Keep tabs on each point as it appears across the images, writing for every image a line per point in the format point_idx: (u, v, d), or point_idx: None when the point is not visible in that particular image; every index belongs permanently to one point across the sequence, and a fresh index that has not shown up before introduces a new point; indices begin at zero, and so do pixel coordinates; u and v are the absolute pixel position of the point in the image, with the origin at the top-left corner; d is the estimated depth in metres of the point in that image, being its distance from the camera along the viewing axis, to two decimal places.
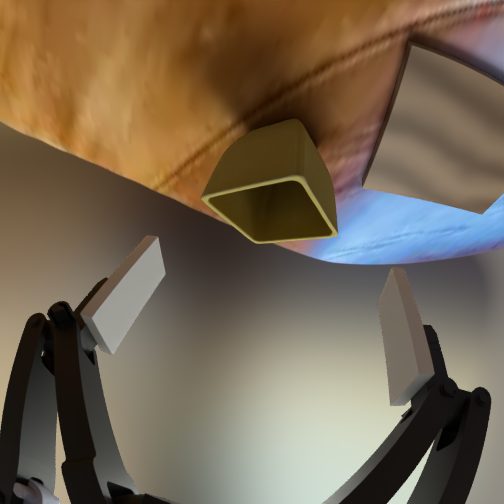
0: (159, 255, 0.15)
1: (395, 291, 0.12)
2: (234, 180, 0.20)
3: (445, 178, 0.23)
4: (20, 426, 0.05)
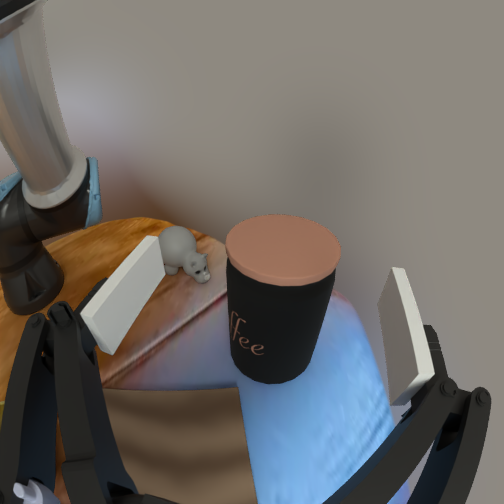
0: (159, 255, 0.15)
1: (395, 291, 0.12)
2: None
3: (163, 493, 0.18)
4: (20, 426, 0.05)
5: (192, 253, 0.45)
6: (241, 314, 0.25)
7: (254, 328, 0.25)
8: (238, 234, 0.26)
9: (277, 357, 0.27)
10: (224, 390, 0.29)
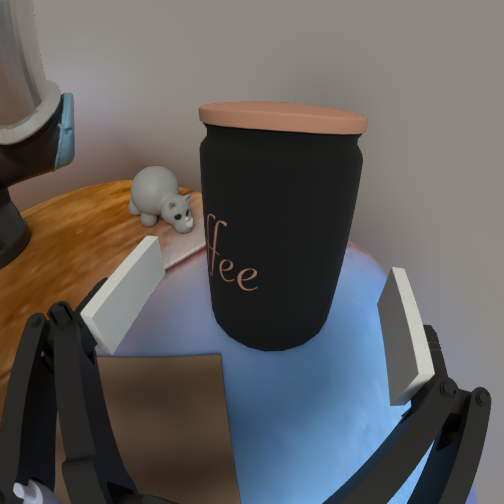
0: (159, 255, 0.15)
1: (395, 291, 0.12)
2: None
3: None
4: (20, 426, 0.05)
5: (172, 195, 0.35)
6: (220, 210, 0.16)
7: (240, 233, 0.15)
8: (219, 104, 0.16)
9: (279, 294, 0.17)
10: (200, 358, 0.20)
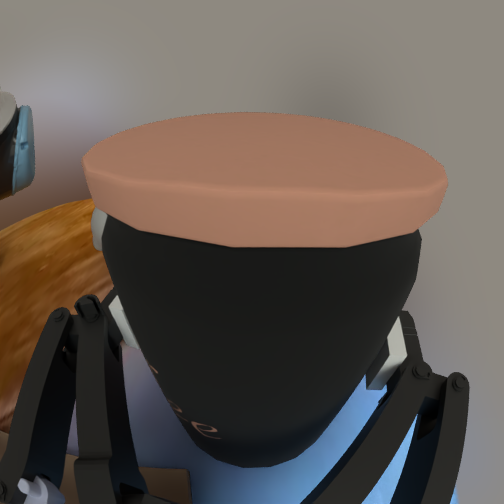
0: None
1: None
2: None
3: None
4: (32, 423, 0.05)
5: None
6: (143, 352, 0.08)
7: (180, 393, 0.08)
8: (144, 128, 0.08)
9: (255, 446, 0.09)
10: (161, 471, 0.12)
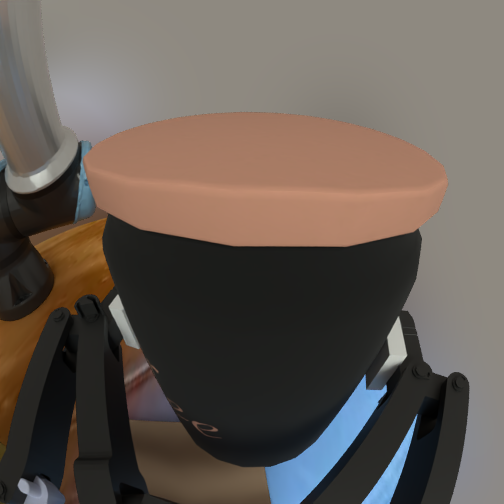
0: None
1: None
2: None
3: None
4: (32, 423, 0.05)
5: None
6: (144, 351, 0.08)
7: (181, 392, 0.08)
8: (145, 128, 0.08)
9: (255, 445, 0.09)
10: None
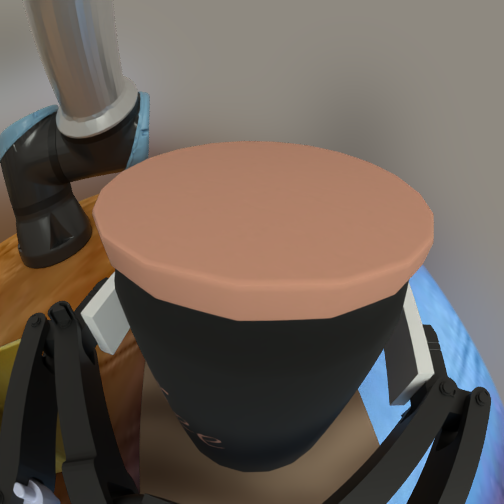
0: None
1: None
2: None
3: None
4: (20, 426, 0.05)
5: None
6: (155, 377, 0.08)
7: (189, 412, 0.08)
8: (149, 167, 0.09)
9: (255, 454, 0.10)
10: None
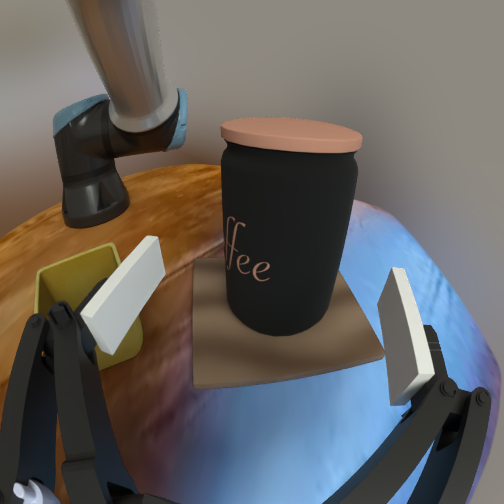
0: (159, 255, 0.15)
1: (395, 291, 0.12)
2: None
3: None
4: (20, 426, 0.05)
5: None
6: (240, 214, 0.19)
7: (257, 232, 0.19)
8: (236, 122, 0.19)
9: (288, 284, 0.21)
10: None
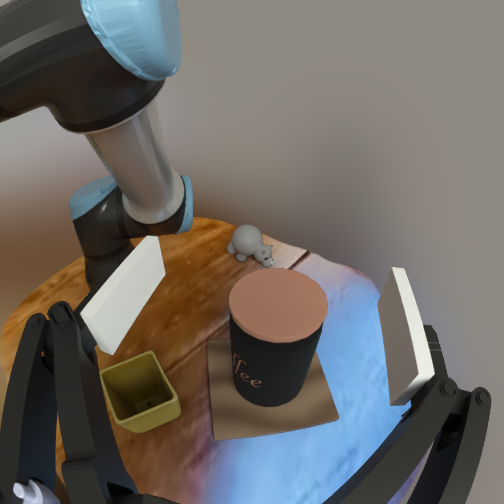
0: (159, 255, 0.15)
1: (395, 291, 0.12)
2: None
3: None
4: (20, 426, 0.05)
5: (261, 245, 0.63)
6: (242, 358, 0.29)
7: (253, 369, 0.29)
8: (239, 292, 0.29)
9: (272, 389, 0.30)
10: None
